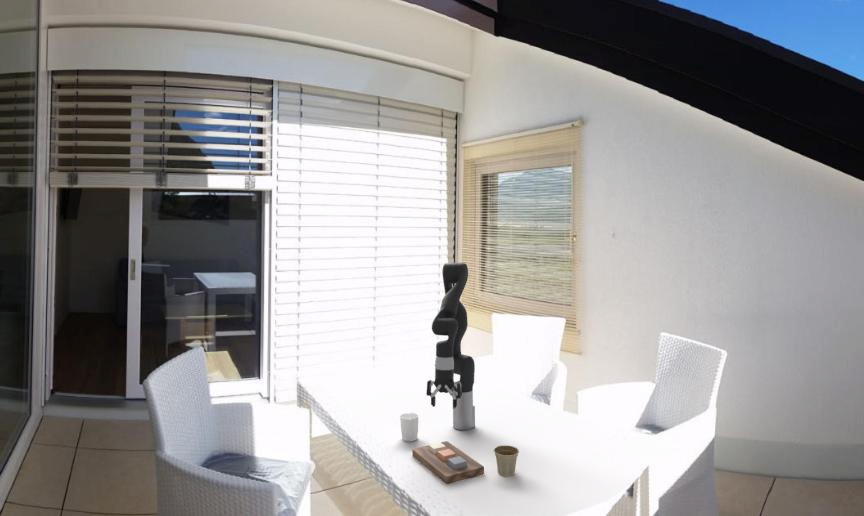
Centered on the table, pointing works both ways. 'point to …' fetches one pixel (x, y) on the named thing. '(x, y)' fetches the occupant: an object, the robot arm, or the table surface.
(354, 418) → the table surface
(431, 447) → the cream pad
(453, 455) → the terracotta pad
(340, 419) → the table surface
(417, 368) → the table surface
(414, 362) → the table surface
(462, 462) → the grey pad
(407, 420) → the white cup
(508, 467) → the flower pot
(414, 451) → the button board
